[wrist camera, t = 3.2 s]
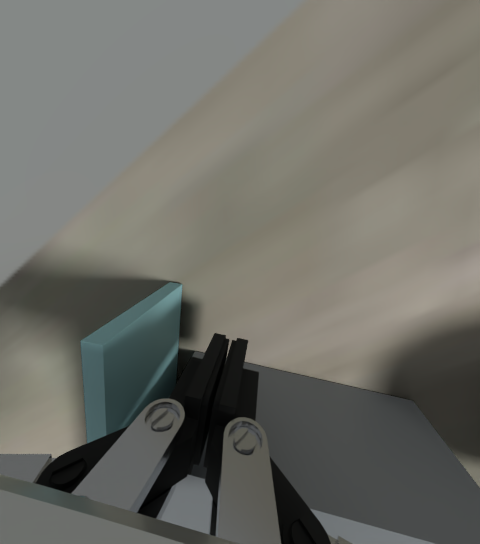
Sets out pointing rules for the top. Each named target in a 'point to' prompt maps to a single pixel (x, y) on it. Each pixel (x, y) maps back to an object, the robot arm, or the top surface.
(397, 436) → the grey box with knob
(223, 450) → the robot arm
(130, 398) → the door
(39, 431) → the top surface
